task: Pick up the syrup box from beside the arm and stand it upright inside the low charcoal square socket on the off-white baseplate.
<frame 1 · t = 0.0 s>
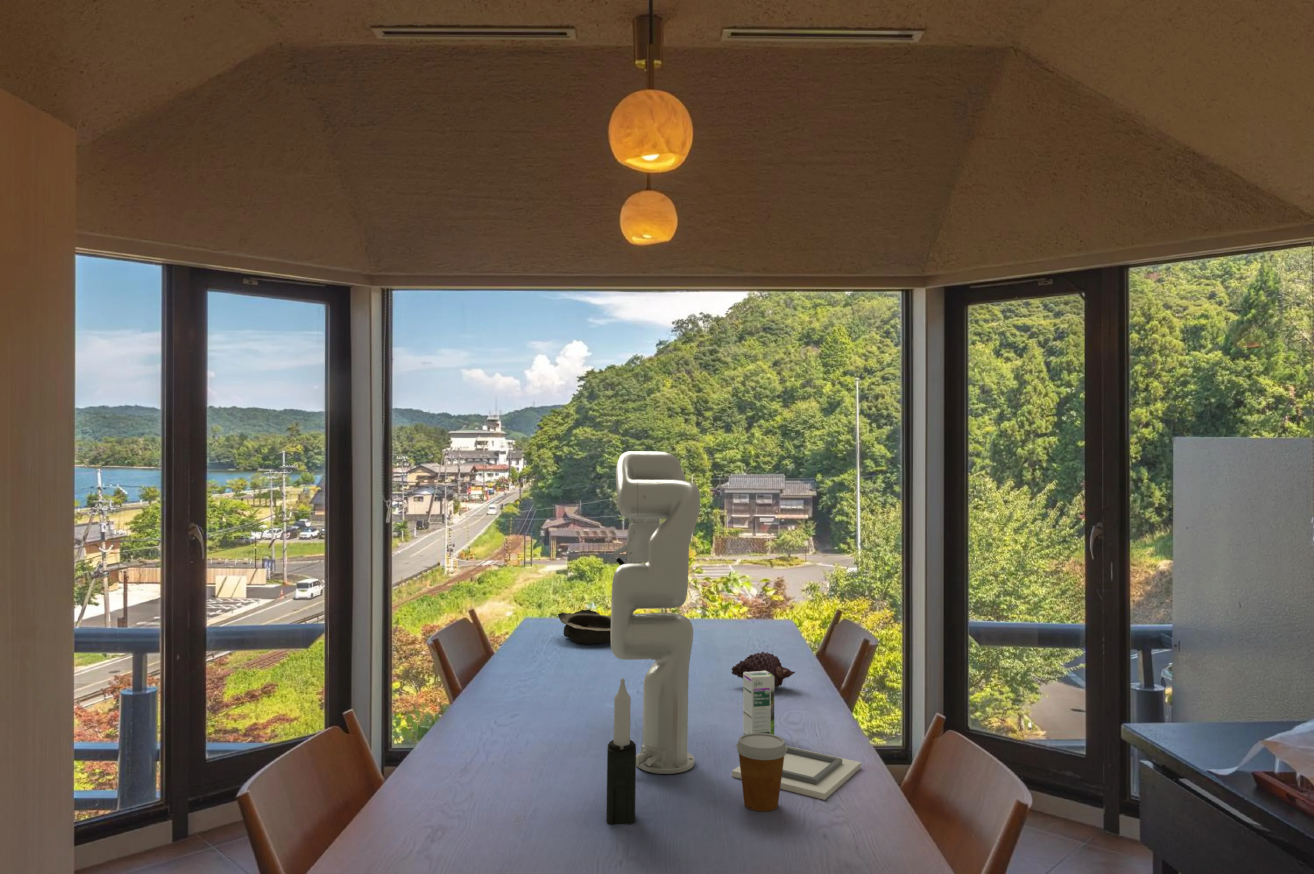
hand: (644, 583, 224), 31 cm above the table, tool pointing down, fingers open, 9 cm apart
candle: (620, 819, 151), on the table
pine cone: (762, 688, 237), on the table
disposable coffee cup: (760, 805, 158), on the table
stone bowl: (592, 640, 296), on the table
baseplate: (797, 772, 174), on the table
syrup box: (758, 736, 197), on the table
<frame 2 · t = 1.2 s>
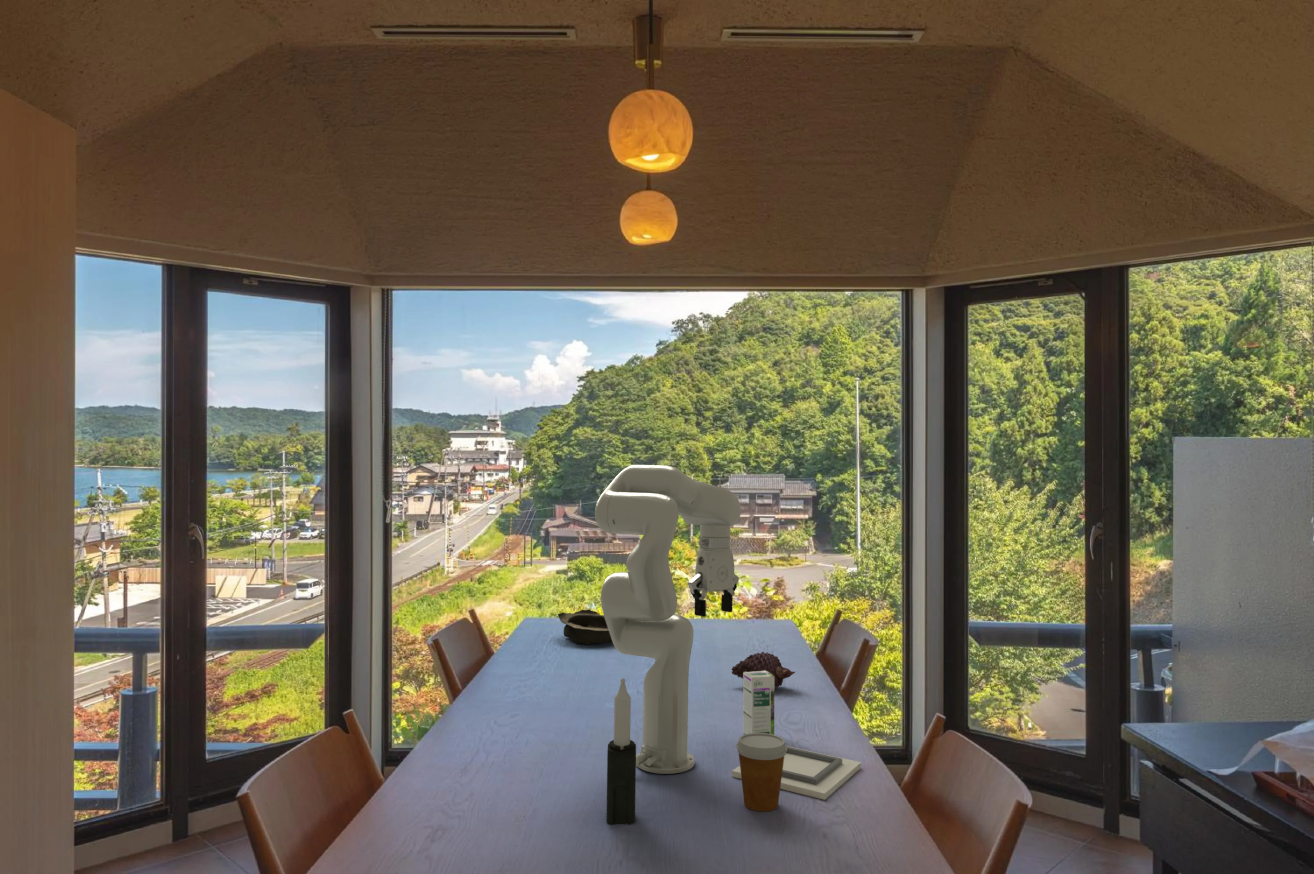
hand: (713, 613, 207), 26 cm above the table, tool pointing down, fingers open, 9 cm apart
nothing on the table moved.
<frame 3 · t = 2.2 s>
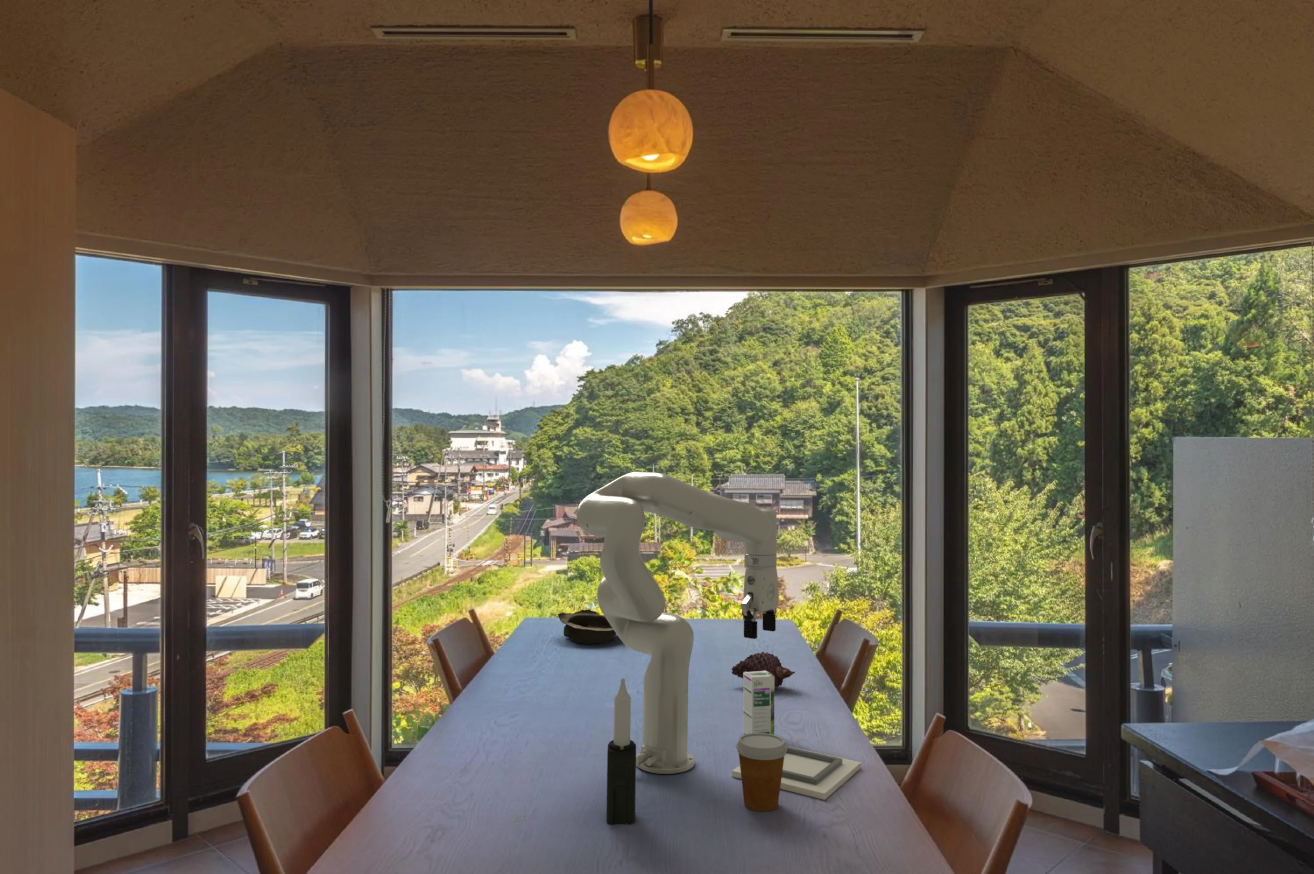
hand: (759, 634, 198), 24 cm above the table, tool pointing down, fingers open, 9 cm apart
nothing on the table moved.
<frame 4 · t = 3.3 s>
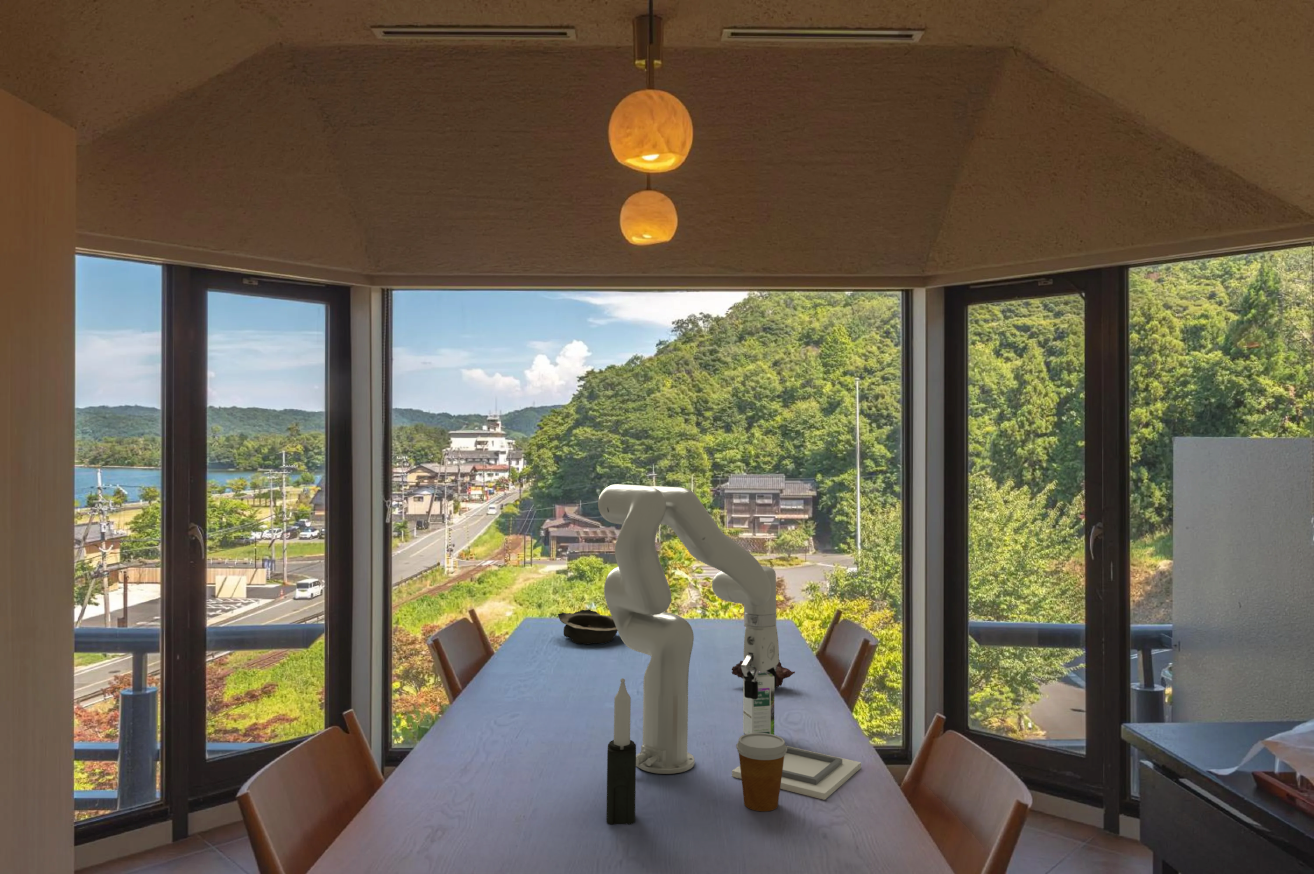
hand: (760, 692, 198), 10 cm above the table, tool pointing down, fingers open, 9 cm apart
nothing on the table moved.
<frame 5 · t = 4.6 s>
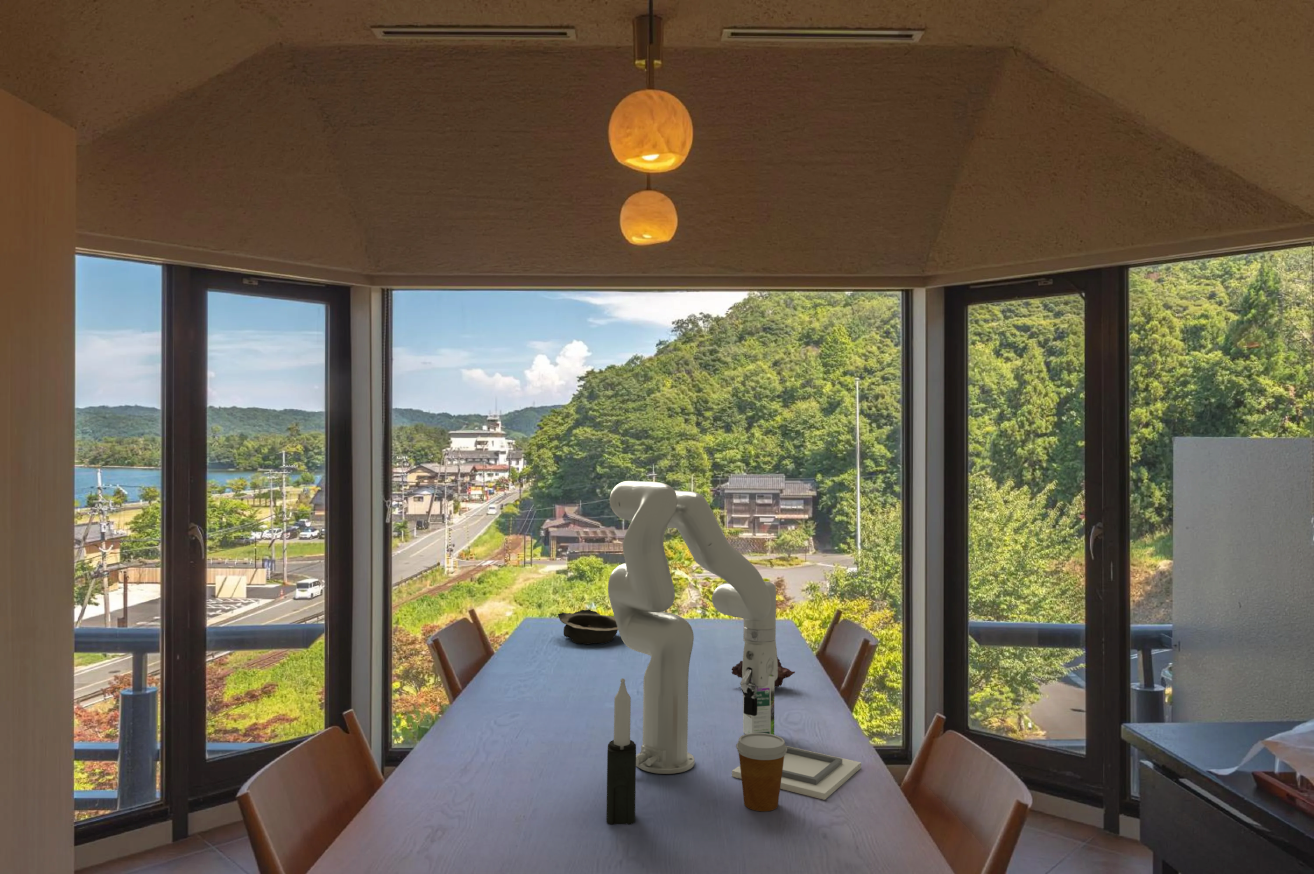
hand: (758, 709, 197), 6 cm above the table, tool pointing down, fingers closed on syrup box, 7 cm apart
syrup box: (758, 736, 197), on the table, touching gripper
everything else where it was.
when the fingers open (8 cm above the table, at t = 13.0 s): syrup box stays where it is, resting on baseplate.
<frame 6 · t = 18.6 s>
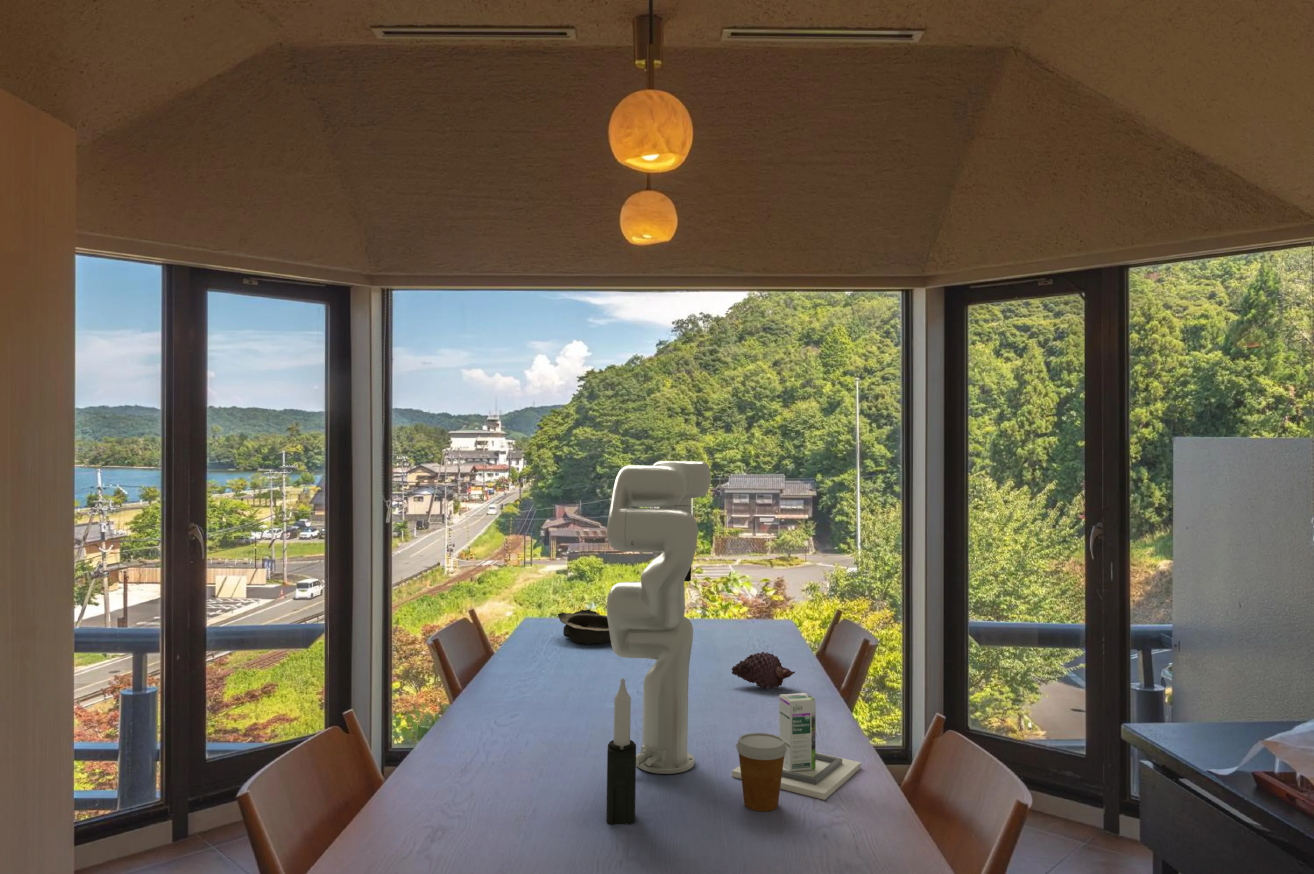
hand: (674, 583, 204), 34 cm above the table, tool pointing down, fingers open, 9 cm apart
syrup box: (796, 767, 175), point 1 cm above the table, touching baseplate
everything else where it was.
at the end: syrup box 0.1 cm off-centre on the baseplate, point 1.0 cm above the baseplate's base; syrup box tilted 0°; the gripper is holding nothing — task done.
